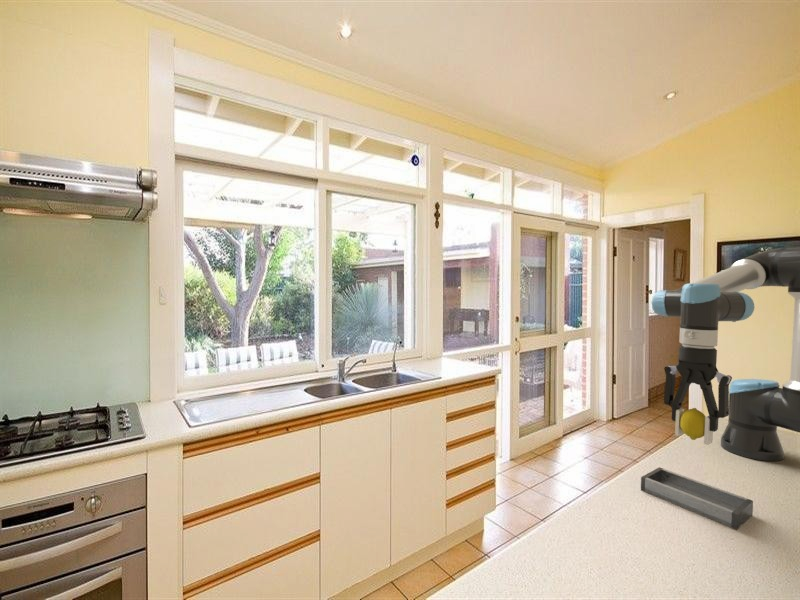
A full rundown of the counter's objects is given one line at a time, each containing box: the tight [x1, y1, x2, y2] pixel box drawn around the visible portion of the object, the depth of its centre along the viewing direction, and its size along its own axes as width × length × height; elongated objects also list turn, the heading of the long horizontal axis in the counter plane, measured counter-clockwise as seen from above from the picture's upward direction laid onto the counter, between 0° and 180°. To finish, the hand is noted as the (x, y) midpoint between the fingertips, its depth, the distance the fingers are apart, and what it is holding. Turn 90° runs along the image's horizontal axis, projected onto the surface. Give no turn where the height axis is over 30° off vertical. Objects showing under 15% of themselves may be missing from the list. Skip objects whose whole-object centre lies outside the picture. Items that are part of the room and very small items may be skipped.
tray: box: [640, 467, 754, 531], centre depth 98 cm, size 10×20×4 cm, turn 33°
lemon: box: [680, 407, 707, 441], centre depth 98 cm, size 6×6×8 cm
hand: (693, 438), depth 98 cm, fingers closed on lemon, 5 cm apart
